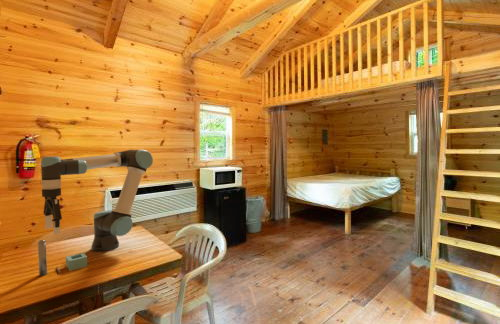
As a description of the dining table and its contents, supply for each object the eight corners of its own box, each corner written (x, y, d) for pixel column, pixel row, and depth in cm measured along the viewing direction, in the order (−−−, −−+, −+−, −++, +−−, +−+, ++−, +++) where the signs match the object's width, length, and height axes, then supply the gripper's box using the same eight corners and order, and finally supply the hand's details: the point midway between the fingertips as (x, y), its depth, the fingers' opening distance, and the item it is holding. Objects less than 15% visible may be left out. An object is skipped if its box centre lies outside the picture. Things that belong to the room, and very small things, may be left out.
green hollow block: (66, 265, 139) (65, 256, 138) (83, 261, 144) (83, 252, 144) (69, 270, 133) (69, 261, 133) (87, 266, 139) (87, 256, 138)
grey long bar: (38, 274, 129) (37, 239, 128) (46, 272, 131) (45, 238, 130) (39, 276, 127) (38, 241, 126) (47, 274, 129) (46, 239, 128)
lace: (55, 268, 135) (55, 266, 135) (58, 268, 136) (58, 266, 136) (58, 273, 130) (58, 271, 130) (60, 273, 130) (60, 271, 130)
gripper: (35, 186, 133) (36, 227, 134) (49, 191, 117) (50, 238, 118) (53, 185, 139) (54, 224, 139) (69, 189, 123) (70, 234, 124)
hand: (52, 231), depth 129 cm, fingers open, 13 cm apart
